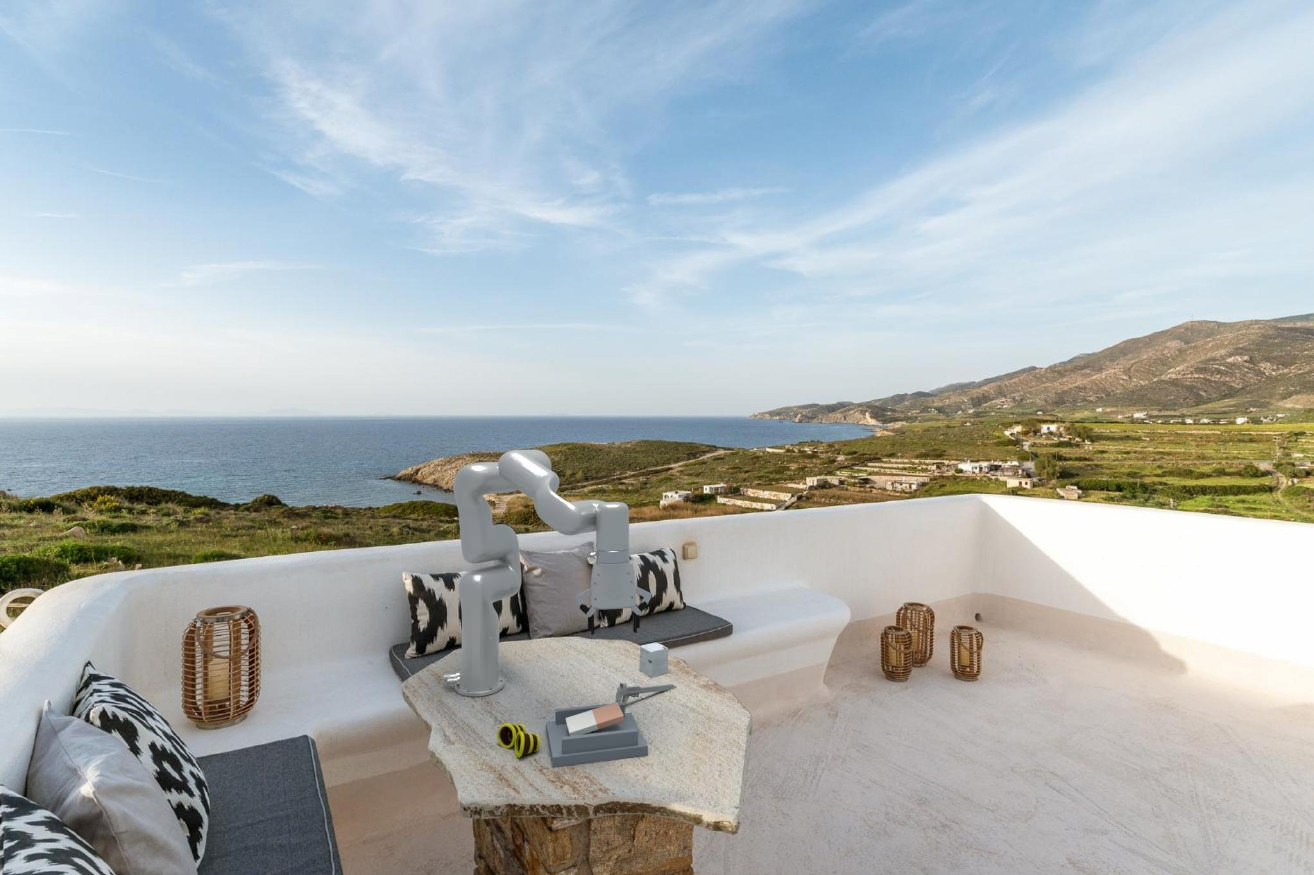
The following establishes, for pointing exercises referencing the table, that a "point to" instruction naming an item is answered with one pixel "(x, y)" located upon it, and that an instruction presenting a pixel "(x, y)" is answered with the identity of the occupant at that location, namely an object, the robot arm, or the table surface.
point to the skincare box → (653, 659)
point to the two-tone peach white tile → (594, 719)
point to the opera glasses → (518, 739)
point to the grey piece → (593, 739)
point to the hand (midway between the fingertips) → (613, 632)
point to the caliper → (639, 690)
